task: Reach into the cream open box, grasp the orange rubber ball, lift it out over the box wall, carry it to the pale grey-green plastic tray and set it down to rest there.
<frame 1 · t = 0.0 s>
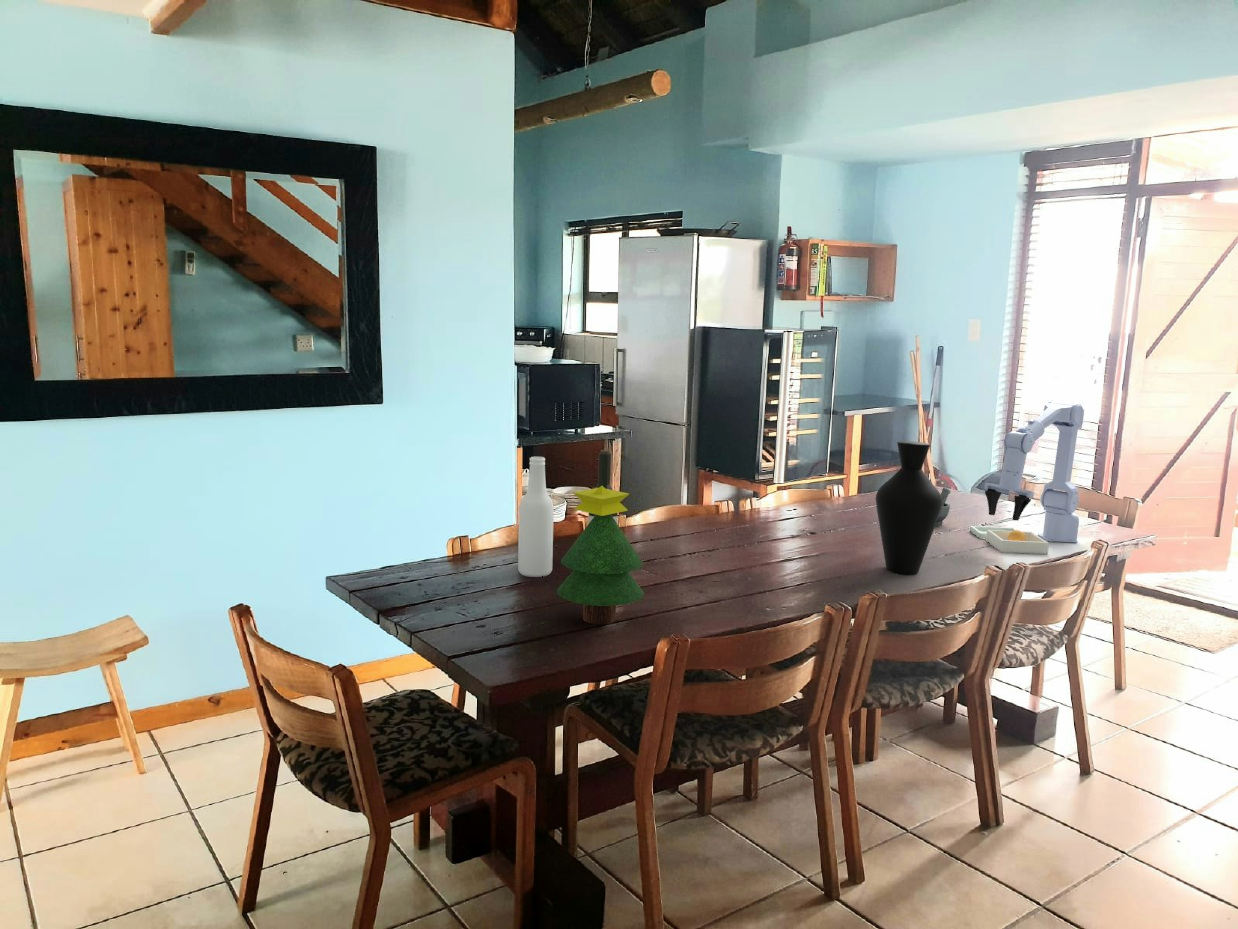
hand: (1003, 517, 280), 11 cm above the table, tool pointing down, fingers open, 7 cm apart
vase: (902, 571, 258), on the table
alcohol: (535, 573, 243), on the table
cream open box: (1015, 547, 288), on the table
mortar and pestle: (934, 524, 316), on the table
tray: (996, 536, 302), on the table
ball: (1016, 538, 287), point 3 cm above the table, touching cream open box
wine bottle: (601, 559, 258), on the table
decorative tree: (599, 619, 210), on the table
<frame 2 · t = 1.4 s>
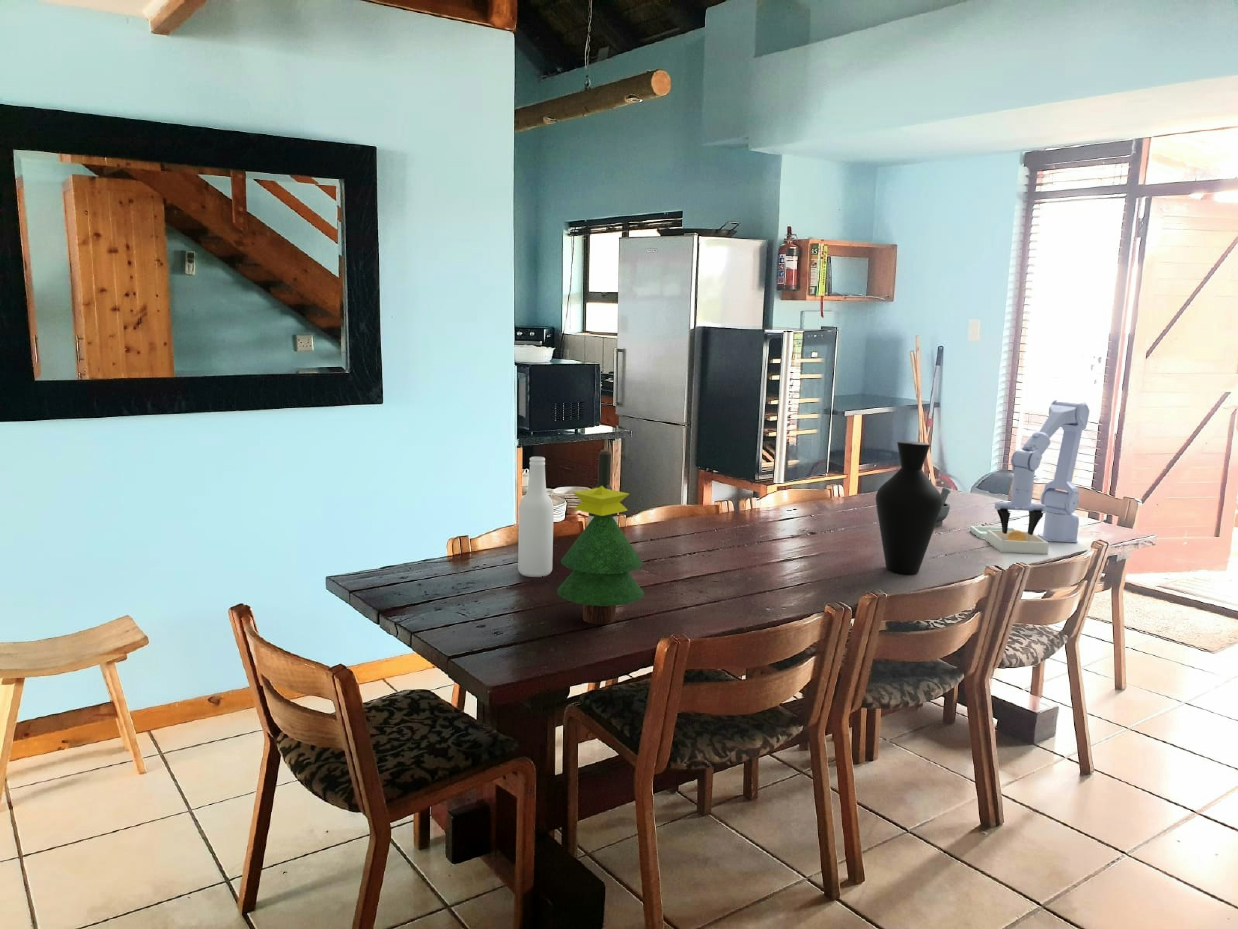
hand: (1017, 533, 287), 4 cm above the table, tool pointing down, fingers open, 7 cm apart
nothing on the table moved.
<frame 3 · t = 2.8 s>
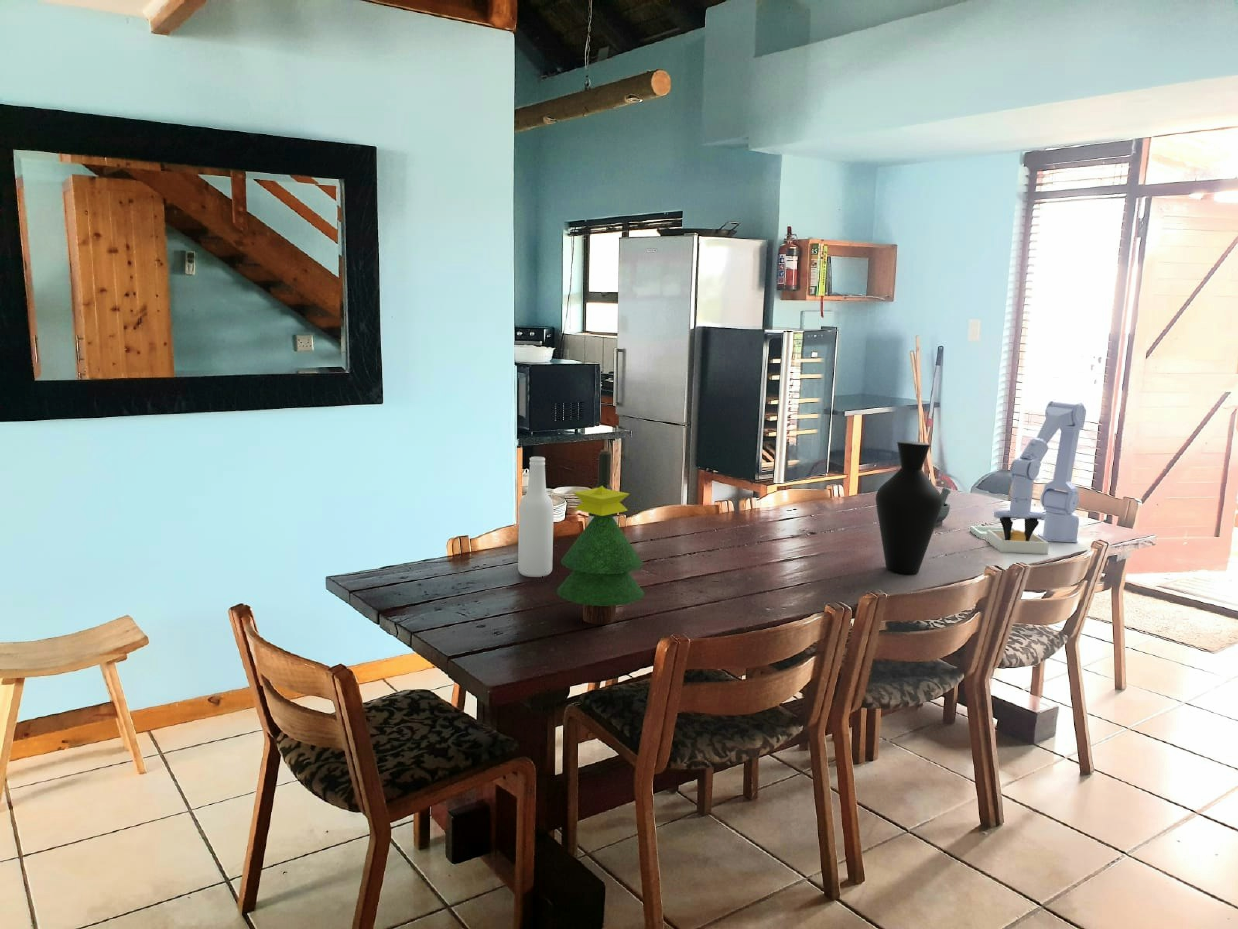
hand: (1016, 542, 288), 2 cm above the table, tool pointing down, fingers closed on ball, 5 cm apart
ball: (1016, 538, 287), point 3 cm above the table, touching gripper, cream open box
everything else where it was.
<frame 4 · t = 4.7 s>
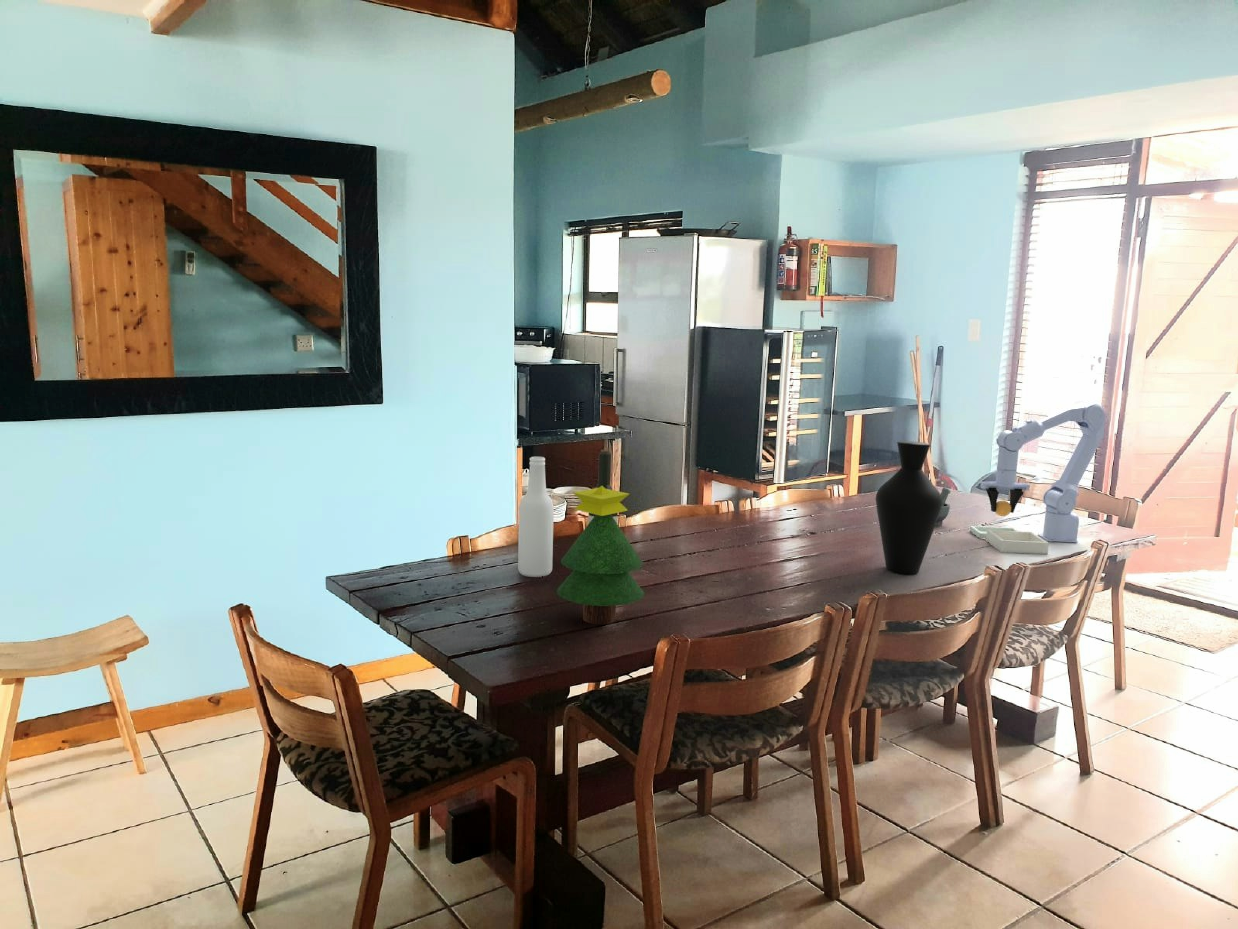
hand: (1002, 511, 298), 8 cm above the table, tool pointing down, fingers closed on ball, 5 cm apart
ball: (1002, 508, 298), point 9 cm above the table, touching gripper
everything else where it was.
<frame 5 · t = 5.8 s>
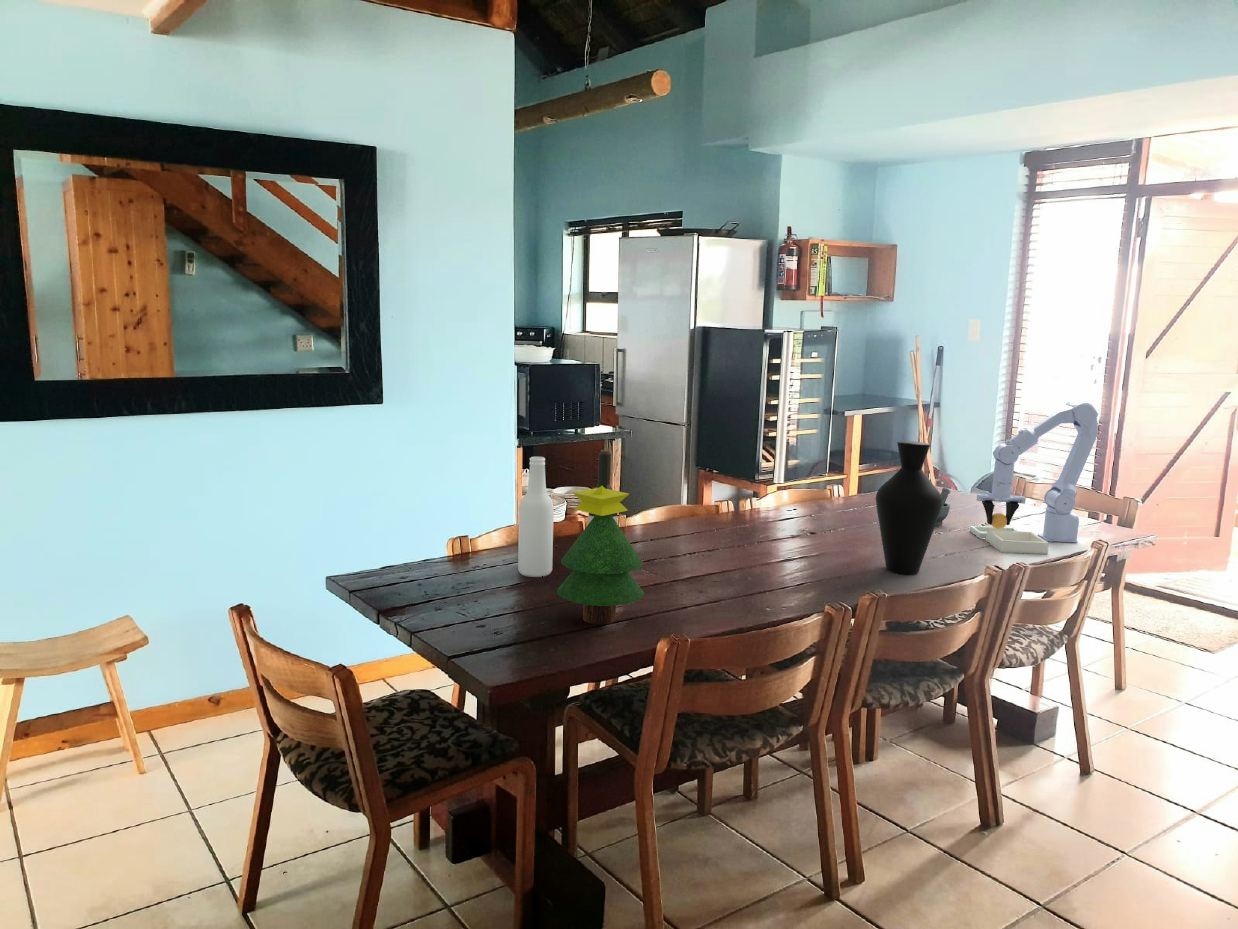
hand: (998, 524, 301), 4 cm above the table, tool pointing down, fingers closed on ball, 5 cm apart
ball: (998, 520, 301), point 5 cm above the table, touching gripper
everything else where it was.
when the fingers open (4 cm above the table, at t = 6.6 s): ball drops 2 cm, resting on tray.
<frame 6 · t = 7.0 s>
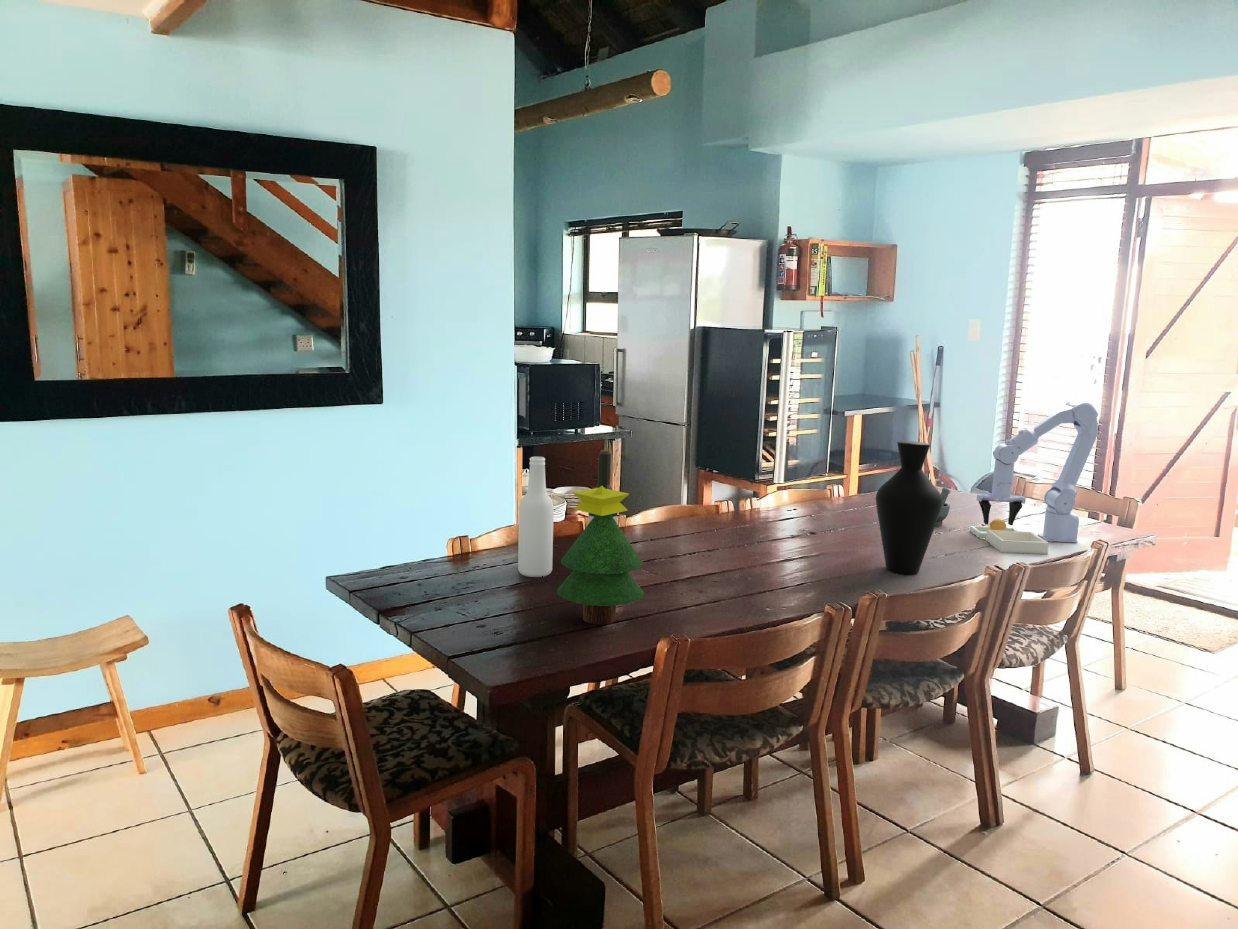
hand: (998, 524, 301), 4 cm above the table, tool pointing down, fingers open, 7 cm apart
ball: (997, 526, 301), point 3 cm above the table, touching tray
everything else where it was.
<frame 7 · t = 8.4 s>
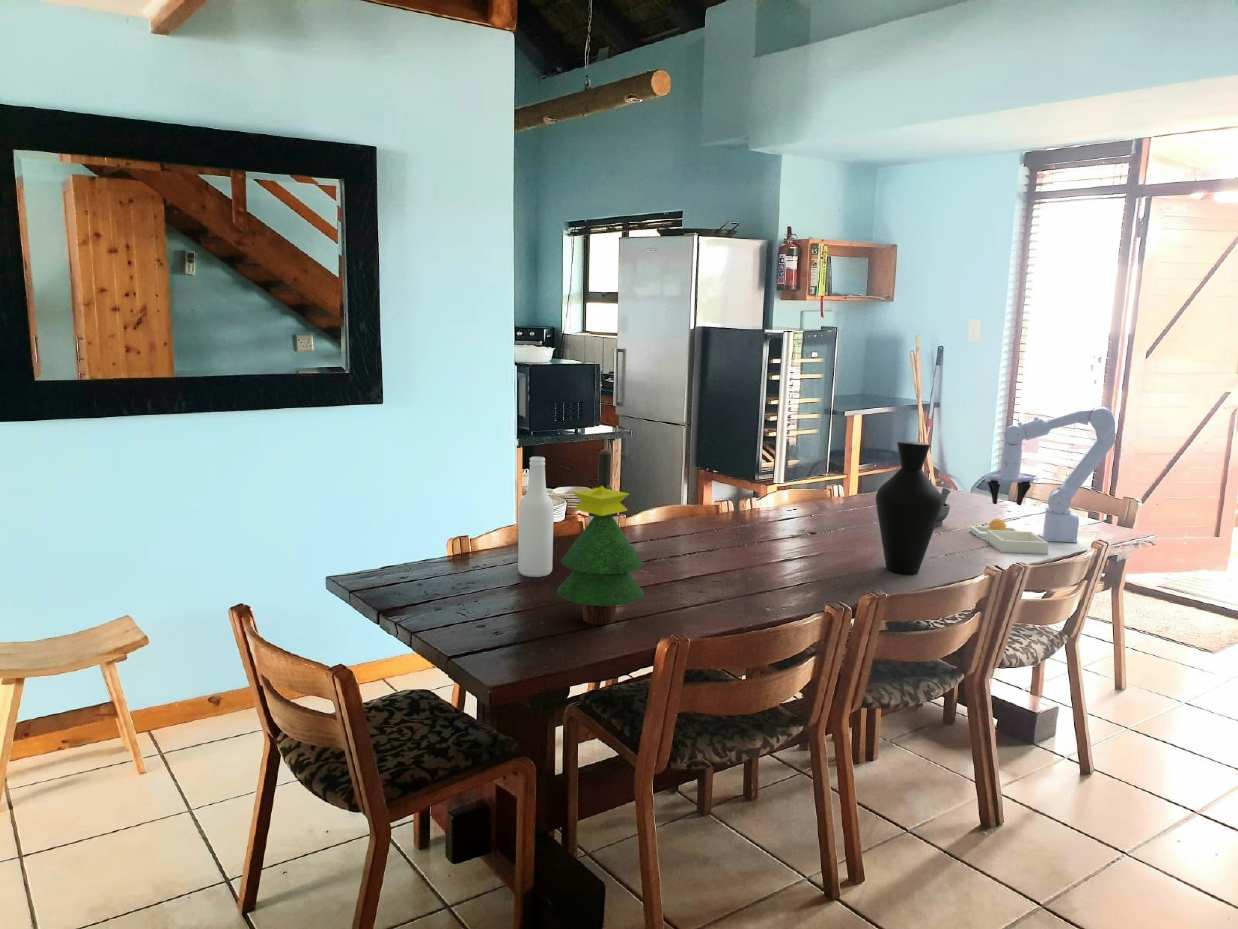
hand: (1006, 504, 305), 9 cm above the table, tool pointing down, fingers open, 7 cm apart
nothing on the table moved.
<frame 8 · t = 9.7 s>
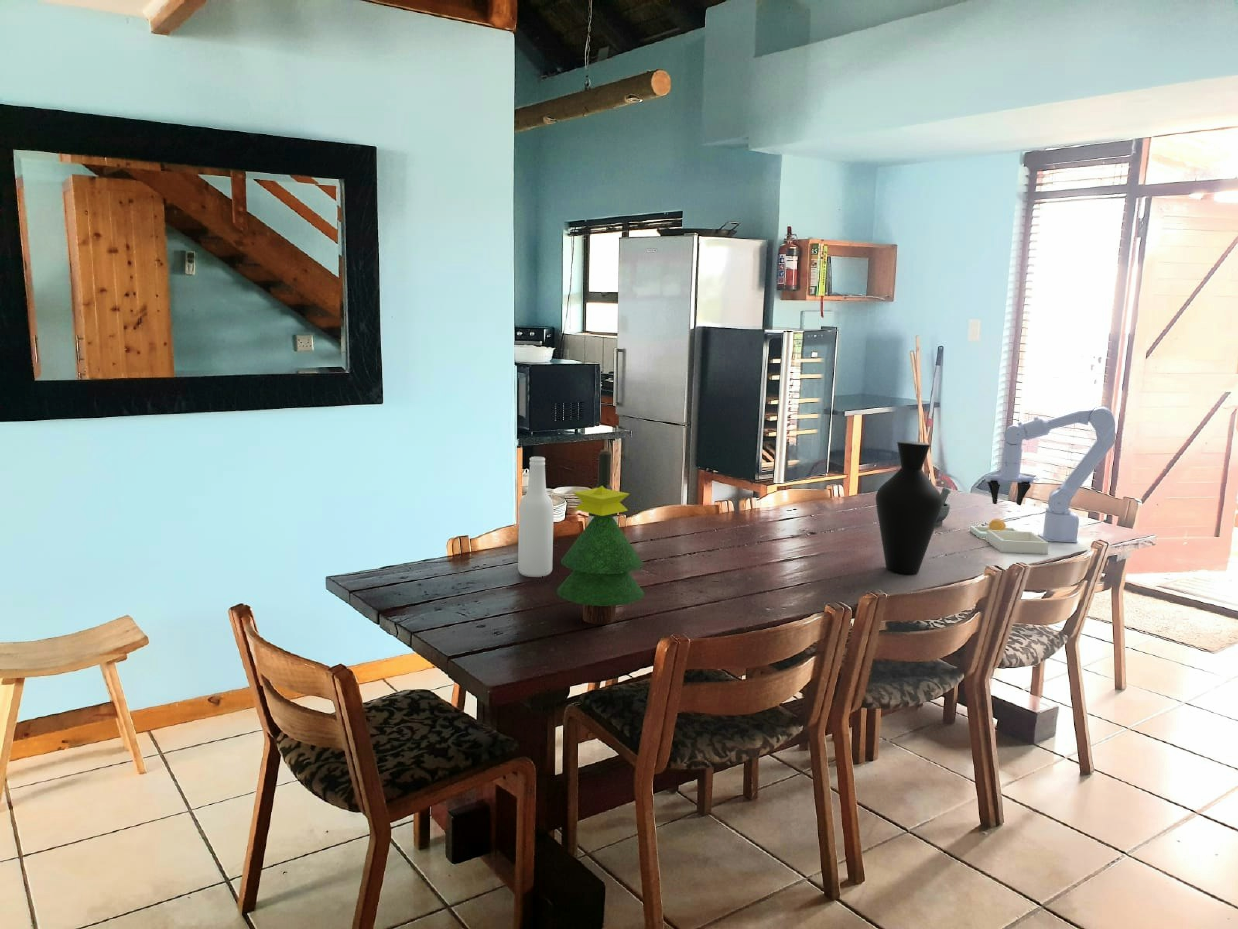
hand: (1006, 504, 305), 9 cm above the table, tool pointing down, fingers open, 7 cm apart
nothing on the table moved.
at the end: ball inside the target area on the tray (0.2 cm from its centre), point 3.0 cm above the tray's base; ball touching tray; the gripper is holding nothing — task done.
